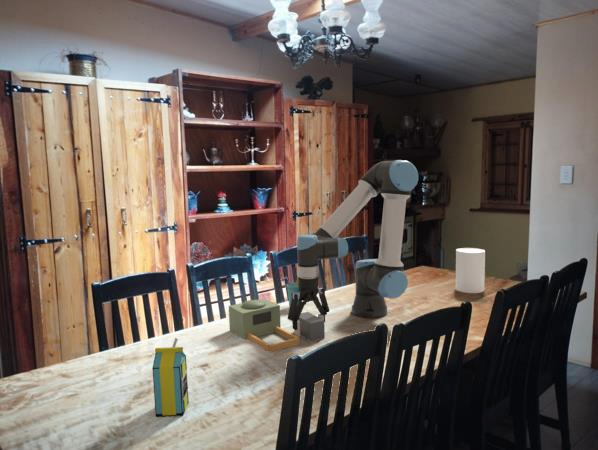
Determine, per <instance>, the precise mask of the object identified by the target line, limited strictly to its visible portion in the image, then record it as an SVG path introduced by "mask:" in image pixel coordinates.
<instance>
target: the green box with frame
mask: <svg viewBox="0 0 598 450" xmlns="http://www.w3.org/2000/svg"><path fill="white" fill-rule="evenodd" d="M228 323H229V332H231V333H233V334H235V335H236V336H238V337H239V338H241V339H243V340H246V339H247V340H249V341H250V342H252V343H254V344H255V345H257V346H259V348H261V349H263V350H265V351H267V352H268V353H272V352H275V351H278V350H279V351H280V350H282V349H285V348H289V347H293V346H296V345H301V342H302V340H301V337H300V338H299V337H297V336H295V335H294V334H293V333H292V332H289V331H287V330H286V329H284V328H282V327H281V305H280V304H278V303H275V302H273V301H271V300H269V299H266V298H261V299H249V300H244V301H243V302H242V303H241V302H240V303H236V304H231V305H228ZM271 333H277V334H279V335H281V336H283V337H284V338H286V339H287V340H285V341H284V340H283V341H280V342H277V343H273V344H269V343H268V342H266V341H264V340H262V339H261V338H260V337H259V336H264V335H267V334H271Z"/></svg>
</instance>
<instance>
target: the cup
mask: <svg viewBox="0 0 598 450" xmlns="http://www.w3.org/2000/svg"><path fill="white" fill-rule="evenodd" d="M298 278H299V276H298V277H297V278H296V281H295V282H290V280H289V277H287V276H285V277H282V278H280V279H279V281H280V282H281V281H284V280H286V282H287V283H286V288H287V297H288V307H289V308H290V305H291V300H292V296H291V294H292V293H298V291H299V287H298ZM299 298H300V296H299ZM298 301H299V299H298ZM297 305H298V303H297Z"/></svg>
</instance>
